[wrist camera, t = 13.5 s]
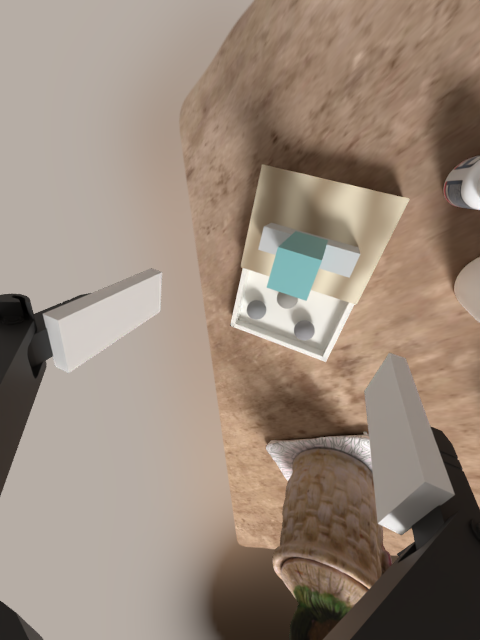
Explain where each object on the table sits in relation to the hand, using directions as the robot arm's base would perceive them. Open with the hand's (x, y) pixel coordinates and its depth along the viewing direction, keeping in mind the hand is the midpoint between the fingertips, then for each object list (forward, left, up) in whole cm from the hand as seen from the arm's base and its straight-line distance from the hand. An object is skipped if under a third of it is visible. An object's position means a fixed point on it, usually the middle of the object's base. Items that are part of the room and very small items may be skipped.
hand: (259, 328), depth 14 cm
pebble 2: (-4, +14, -26) cm, 30 cm away
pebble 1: (+5, +13, -26) cm, 30 cm away
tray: (0, +12, -29) cm, 31 cm away
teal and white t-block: (0, 0, -25) cm, 25 cm away
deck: (0, -1, -29) cm, 29 cm away
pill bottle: (-15, -11, -29) cm, 34 cm away
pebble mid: (+1, +9, -26) cm, 28 cm away
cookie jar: (-22, +48, -29) cm, 60 cm away
